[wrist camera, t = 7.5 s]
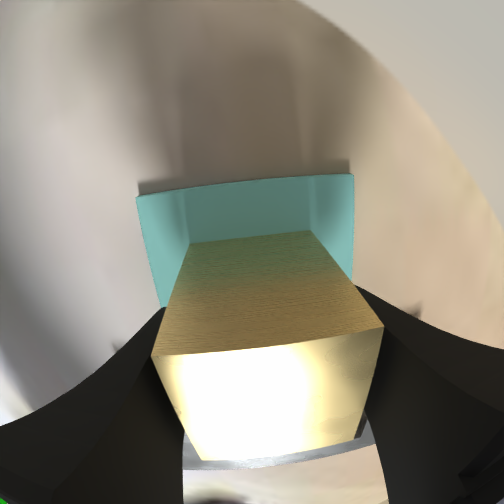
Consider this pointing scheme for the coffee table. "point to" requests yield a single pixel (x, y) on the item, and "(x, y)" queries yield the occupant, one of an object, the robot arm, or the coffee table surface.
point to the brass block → (266, 347)
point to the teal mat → (245, 218)
